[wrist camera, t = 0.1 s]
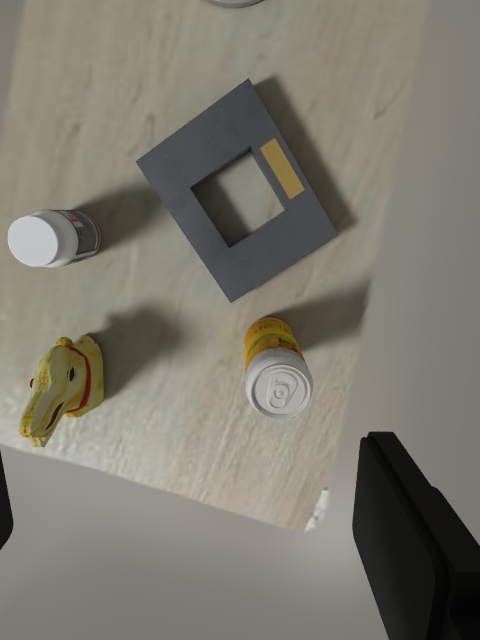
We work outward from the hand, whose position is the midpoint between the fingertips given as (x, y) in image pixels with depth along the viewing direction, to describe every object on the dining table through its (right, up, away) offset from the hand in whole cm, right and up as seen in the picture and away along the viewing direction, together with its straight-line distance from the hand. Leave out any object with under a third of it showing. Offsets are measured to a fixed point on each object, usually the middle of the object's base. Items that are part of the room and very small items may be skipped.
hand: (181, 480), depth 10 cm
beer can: (+5, +2, +38) cm, 39 cm away
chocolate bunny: (-19, -2, +39) cm, 44 cm away
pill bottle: (-18, +14, +35) cm, 42 cm away
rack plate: (+1, +18, +34) cm, 38 cm away
